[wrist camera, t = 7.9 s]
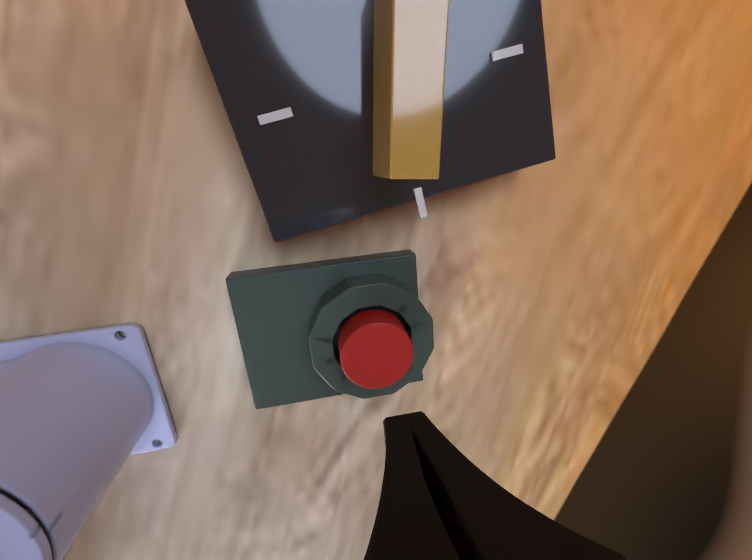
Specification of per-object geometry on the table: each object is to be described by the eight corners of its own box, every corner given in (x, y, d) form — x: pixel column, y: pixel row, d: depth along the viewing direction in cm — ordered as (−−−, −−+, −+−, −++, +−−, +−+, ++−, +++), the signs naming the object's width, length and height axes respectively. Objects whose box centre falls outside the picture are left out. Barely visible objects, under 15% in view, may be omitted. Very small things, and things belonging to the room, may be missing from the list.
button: (342, 375, 20) (345, 394, 18) (334, 314, 19) (336, 328, 17) (407, 364, 20) (415, 382, 18) (403, 304, 19) (411, 317, 17)
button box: (258, 397, 22) (250, 431, 19) (230, 272, 20) (216, 290, 17) (421, 369, 23) (436, 397, 21) (414, 248, 21) (430, 261, 18)
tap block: (285, 246, 20) (280, 260, 17) (194, -6, 16) (166, -45, 13) (524, 174, 21) (560, 176, 18) (493, -80, 17) (531, -132, 14)
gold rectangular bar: (411, 175, 17) (442, 179, 13) (372, 175, 16) (390, 179, 12) (418, -21, 14) (458, -93, 10) (373, -25, 14) (396, -100, 10)
